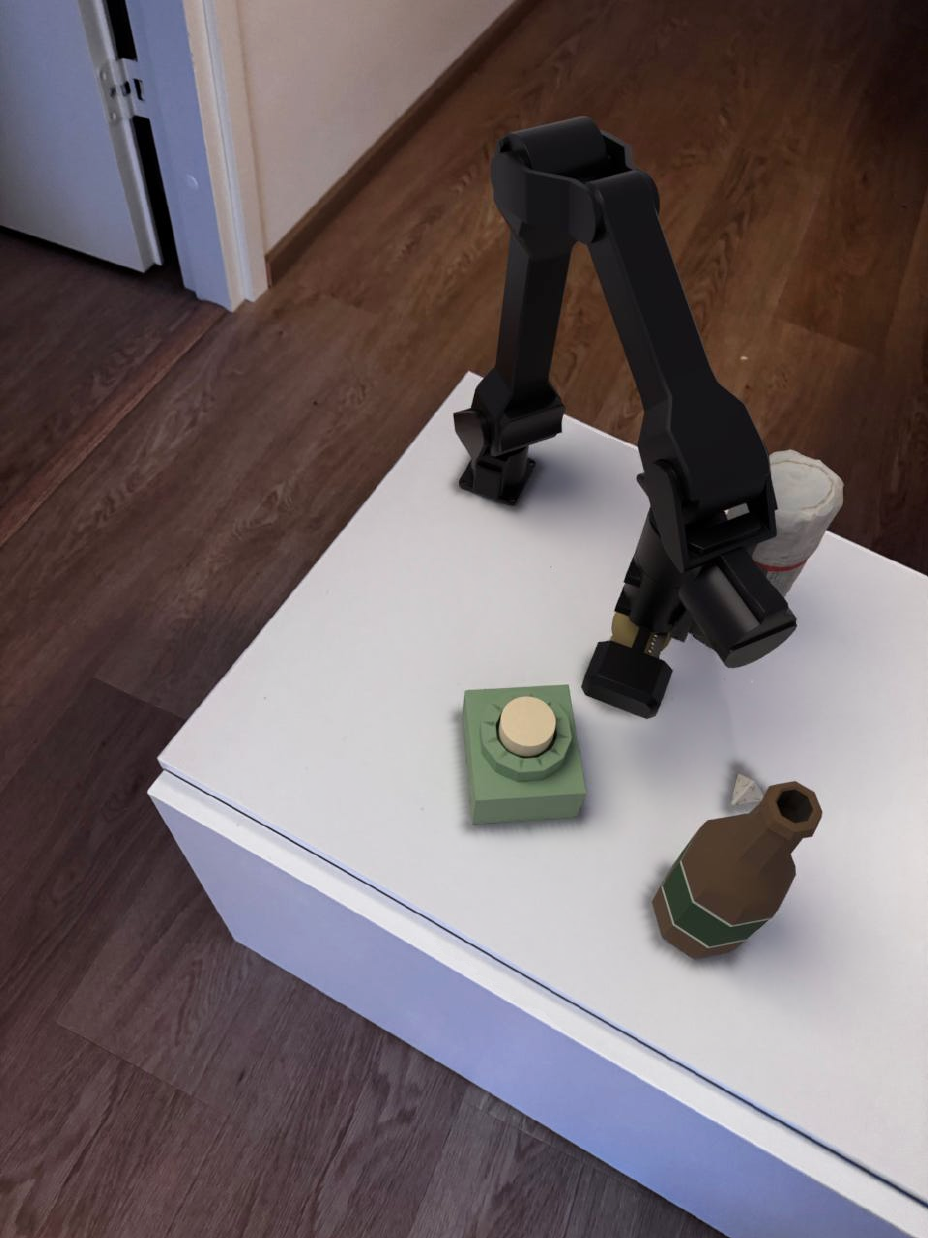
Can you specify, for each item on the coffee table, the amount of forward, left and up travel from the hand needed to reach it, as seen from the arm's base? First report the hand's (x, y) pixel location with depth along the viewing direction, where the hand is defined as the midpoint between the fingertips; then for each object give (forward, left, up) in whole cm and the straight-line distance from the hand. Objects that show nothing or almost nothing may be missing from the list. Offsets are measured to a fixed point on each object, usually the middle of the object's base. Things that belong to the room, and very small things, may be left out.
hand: (633, 659), depth 86 cm
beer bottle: (+18, +12, -4) cm, 22 cm away
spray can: (-12, +7, -4) cm, 15 cm away
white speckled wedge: (+6, +13, -5) cm, 15 cm away
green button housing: (+12, -6, -4) cm, 14 cm away
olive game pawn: (0, 0, -4) cm, 5 cm away
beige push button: (+12, -6, +3) cm, 14 cm away
